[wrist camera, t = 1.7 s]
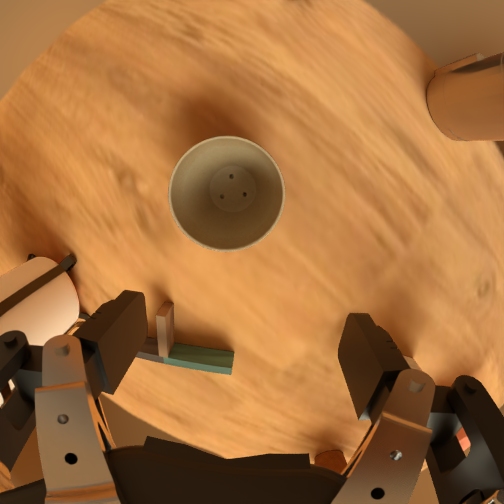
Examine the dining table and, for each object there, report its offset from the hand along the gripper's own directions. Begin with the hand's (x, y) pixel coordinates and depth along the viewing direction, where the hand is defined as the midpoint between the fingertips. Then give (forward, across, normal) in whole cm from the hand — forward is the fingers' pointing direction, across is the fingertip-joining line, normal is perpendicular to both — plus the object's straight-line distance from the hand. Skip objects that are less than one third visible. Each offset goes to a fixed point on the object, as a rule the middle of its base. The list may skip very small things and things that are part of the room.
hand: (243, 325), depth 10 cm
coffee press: (+21, +31, +13) cm, 39 cm away
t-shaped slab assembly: (+21, +10, +14) cm, 28 cm away
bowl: (+21, +3, -3) cm, 22 cm away
